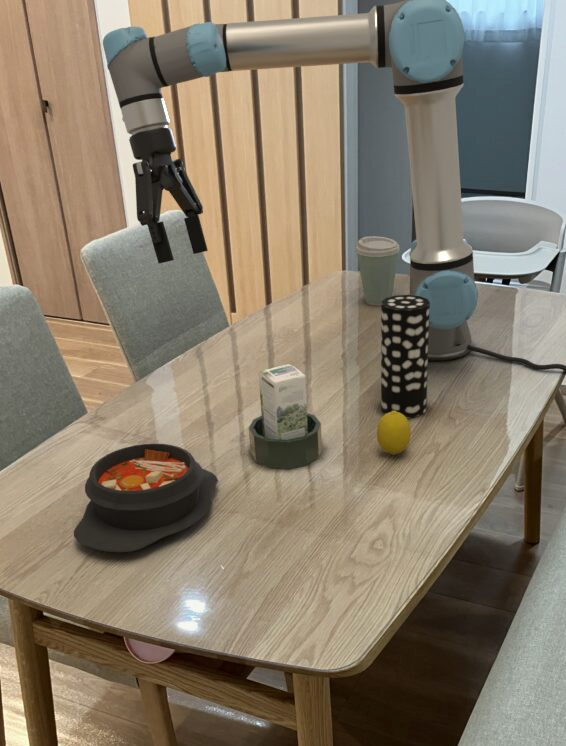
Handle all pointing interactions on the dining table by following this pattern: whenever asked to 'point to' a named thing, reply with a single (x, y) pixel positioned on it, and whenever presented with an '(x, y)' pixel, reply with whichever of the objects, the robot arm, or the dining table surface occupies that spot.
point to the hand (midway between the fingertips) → (184, 257)
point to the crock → (286, 446)
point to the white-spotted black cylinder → (404, 354)
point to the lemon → (393, 432)
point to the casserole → (143, 497)
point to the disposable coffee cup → (377, 267)
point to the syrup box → (283, 402)
